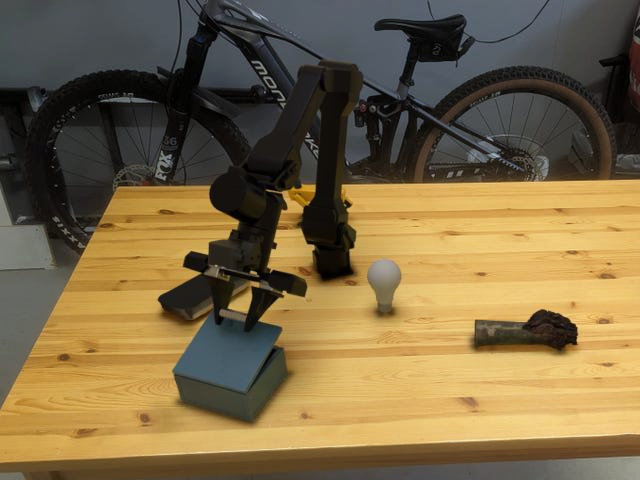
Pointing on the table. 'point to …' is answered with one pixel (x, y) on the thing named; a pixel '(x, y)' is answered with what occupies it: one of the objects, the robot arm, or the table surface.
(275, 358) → the compartment
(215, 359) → the blue-grey box lid
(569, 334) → the mossy log
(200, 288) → the black sponge
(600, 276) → the table surface
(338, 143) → the robot arm
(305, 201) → the robot dog
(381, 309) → the lightbulb
